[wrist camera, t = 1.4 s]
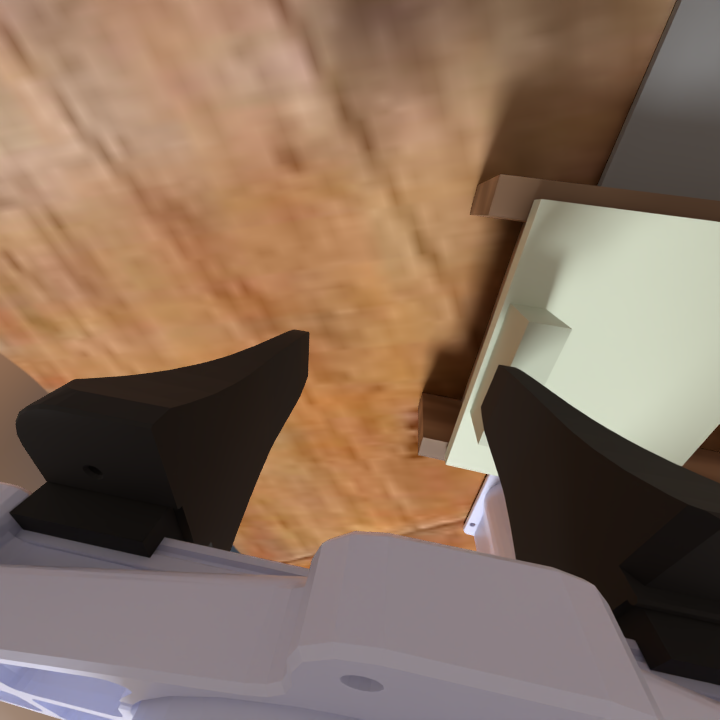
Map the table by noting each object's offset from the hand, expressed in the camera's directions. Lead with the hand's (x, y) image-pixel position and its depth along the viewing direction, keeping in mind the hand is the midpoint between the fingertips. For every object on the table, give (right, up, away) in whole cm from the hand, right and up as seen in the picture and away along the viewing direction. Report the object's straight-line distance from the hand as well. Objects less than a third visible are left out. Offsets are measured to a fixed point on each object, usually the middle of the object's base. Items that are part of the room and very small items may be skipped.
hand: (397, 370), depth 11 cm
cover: (+10, 0, +3) cm, 11 cm away
